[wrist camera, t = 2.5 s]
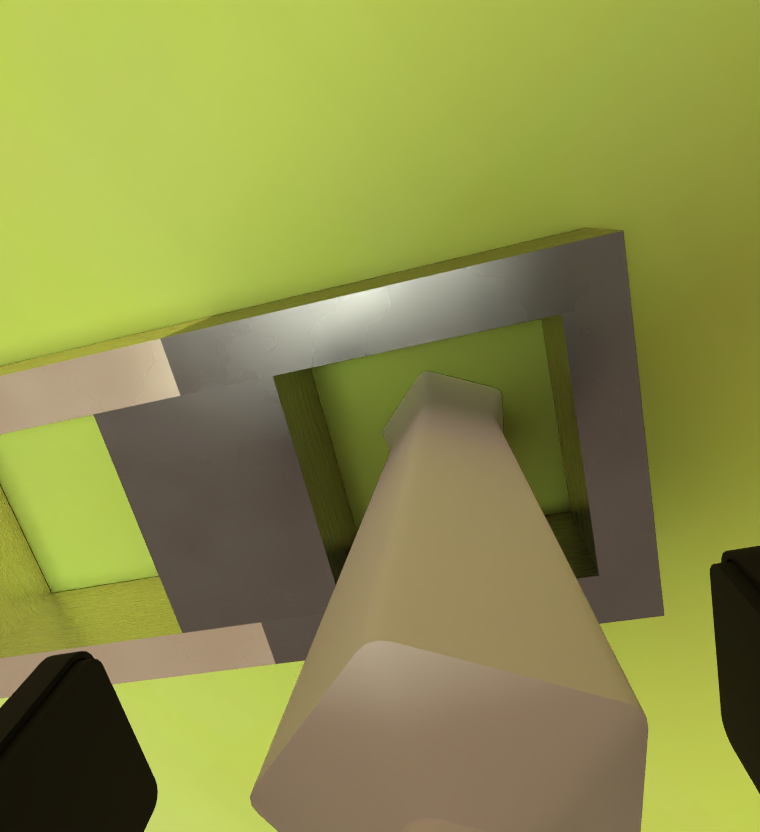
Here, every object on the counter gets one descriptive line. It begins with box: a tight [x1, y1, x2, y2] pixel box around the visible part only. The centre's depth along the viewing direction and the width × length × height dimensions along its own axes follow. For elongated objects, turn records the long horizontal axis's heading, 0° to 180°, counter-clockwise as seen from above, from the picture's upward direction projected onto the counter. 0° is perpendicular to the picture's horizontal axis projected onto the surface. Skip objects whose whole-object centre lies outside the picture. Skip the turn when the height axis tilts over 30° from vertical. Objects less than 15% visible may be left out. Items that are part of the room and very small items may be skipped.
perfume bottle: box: [250, 371, 648, 832], centre depth 11 cm, size 5×4×15 cm
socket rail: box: [0, 228, 664, 698], centre depth 17 cm, size 22×10×4 cm, turn 103°
